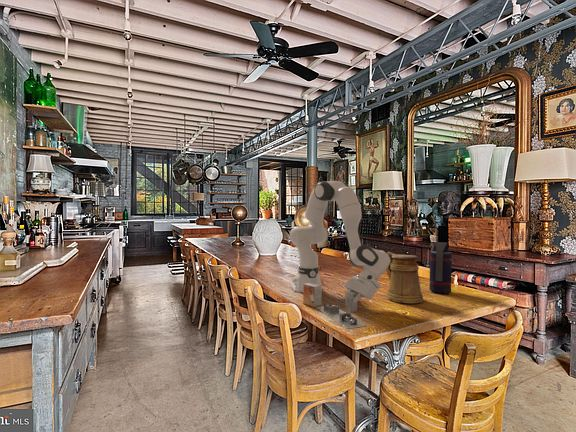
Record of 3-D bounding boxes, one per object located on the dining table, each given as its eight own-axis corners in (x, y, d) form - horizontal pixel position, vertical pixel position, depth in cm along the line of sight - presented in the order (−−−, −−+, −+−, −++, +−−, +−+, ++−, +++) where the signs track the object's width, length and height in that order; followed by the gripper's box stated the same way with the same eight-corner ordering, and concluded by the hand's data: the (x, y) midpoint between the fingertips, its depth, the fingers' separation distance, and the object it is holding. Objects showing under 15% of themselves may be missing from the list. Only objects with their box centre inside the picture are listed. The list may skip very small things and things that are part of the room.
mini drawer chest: (344, 309, 164) (344, 291, 164) (352, 308, 166) (352, 290, 166) (349, 312, 160) (350, 293, 160) (357, 311, 161) (357, 292, 161)
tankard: (410, 306, 169) (411, 258, 168) (373, 296, 188) (374, 252, 187) (429, 301, 179) (430, 255, 179) (393, 291, 198) (393, 250, 198)
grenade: (430, 288, 206) (431, 240, 205) (452, 291, 200) (453, 241, 199) (427, 293, 194) (428, 242, 193) (449, 296, 188) (451, 244, 187)
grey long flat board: (315, 307, 166) (315, 301, 166) (333, 305, 170) (333, 299, 169) (346, 328, 138) (346, 320, 138) (367, 325, 142) (367, 317, 141)
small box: (303, 303, 173) (303, 283, 173) (310, 301, 177) (310, 282, 176) (314, 307, 167) (314, 286, 167) (321, 305, 171) (321, 284, 171)
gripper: (352, 270, 175) (335, 290, 171) (375, 278, 155) (357, 301, 152) (359, 278, 176) (343, 298, 173) (383, 287, 157) (365, 309, 154)
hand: (350, 299), depth 163 cm, fingers closed on mini drawer chest, 5 cm apart
